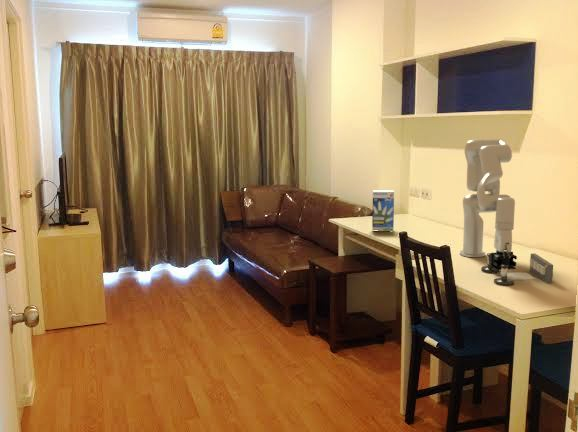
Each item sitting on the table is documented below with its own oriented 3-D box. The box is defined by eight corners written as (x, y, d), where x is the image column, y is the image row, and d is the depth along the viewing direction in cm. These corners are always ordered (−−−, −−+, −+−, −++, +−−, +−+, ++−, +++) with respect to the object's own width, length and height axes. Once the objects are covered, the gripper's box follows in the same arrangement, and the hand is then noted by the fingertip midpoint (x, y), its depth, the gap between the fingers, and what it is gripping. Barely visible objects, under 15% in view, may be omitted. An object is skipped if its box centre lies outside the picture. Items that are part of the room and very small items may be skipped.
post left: (477, 269, 257) (477, 253, 255) (492, 267, 259) (492, 250, 257) (488, 274, 249) (488, 257, 248) (503, 271, 251) (503, 254, 250)
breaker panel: (527, 270, 253) (528, 253, 252) (534, 270, 253) (535, 253, 252) (544, 283, 234) (545, 264, 232) (552, 283, 234) (553, 264, 232)
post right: (491, 280, 239) (492, 262, 238) (510, 280, 239) (511, 262, 238) (497, 286, 232) (498, 267, 230) (516, 286, 231) (517, 267, 230)
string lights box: (372, 231, 346) (372, 191, 342) (373, 229, 353) (373, 189, 349) (393, 232, 343) (393, 191, 338) (393, 230, 350) (394, 190, 346)
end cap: (508, 264, 248) (509, 250, 247) (517, 269, 241) (517, 254, 240) (487, 265, 247) (488, 251, 246) (495, 270, 240) (496, 255, 239)
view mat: (500, 273, 249) (500, 272, 249) (527, 273, 249) (527, 272, 248) (507, 279, 239) (507, 279, 239) (535, 279, 239) (535, 278, 239)
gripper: (489, 221, 249) (488, 259, 252) (501, 229, 232) (500, 269, 235) (506, 221, 249) (504, 259, 252) (520, 229, 232) (517, 269, 235)
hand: (502, 264), depth 244 cm, fingers closed on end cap, 7 cm apart
